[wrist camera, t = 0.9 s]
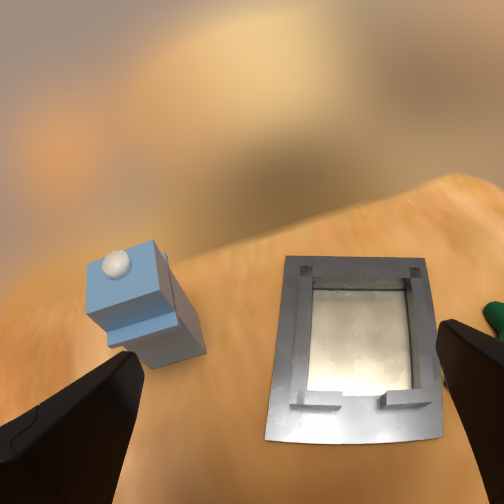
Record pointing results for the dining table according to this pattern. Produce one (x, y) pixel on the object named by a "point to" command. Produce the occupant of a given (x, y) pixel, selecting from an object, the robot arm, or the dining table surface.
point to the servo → (143, 306)
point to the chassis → (355, 353)
